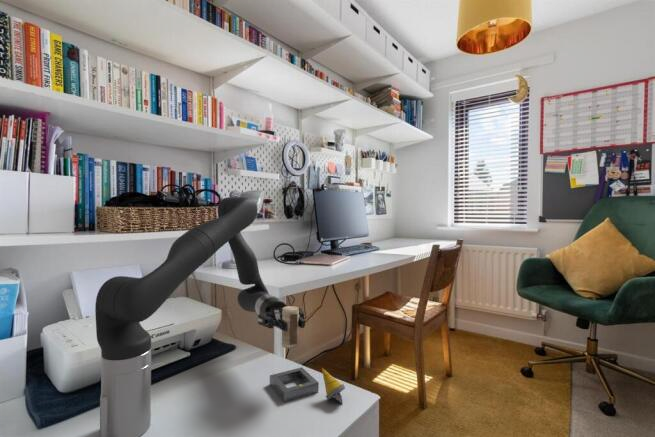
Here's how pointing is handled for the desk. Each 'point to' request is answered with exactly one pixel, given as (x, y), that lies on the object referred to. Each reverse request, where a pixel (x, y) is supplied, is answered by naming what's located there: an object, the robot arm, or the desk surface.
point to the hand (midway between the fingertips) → (294, 325)
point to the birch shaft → (290, 326)
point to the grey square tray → (295, 391)
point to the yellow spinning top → (332, 387)
